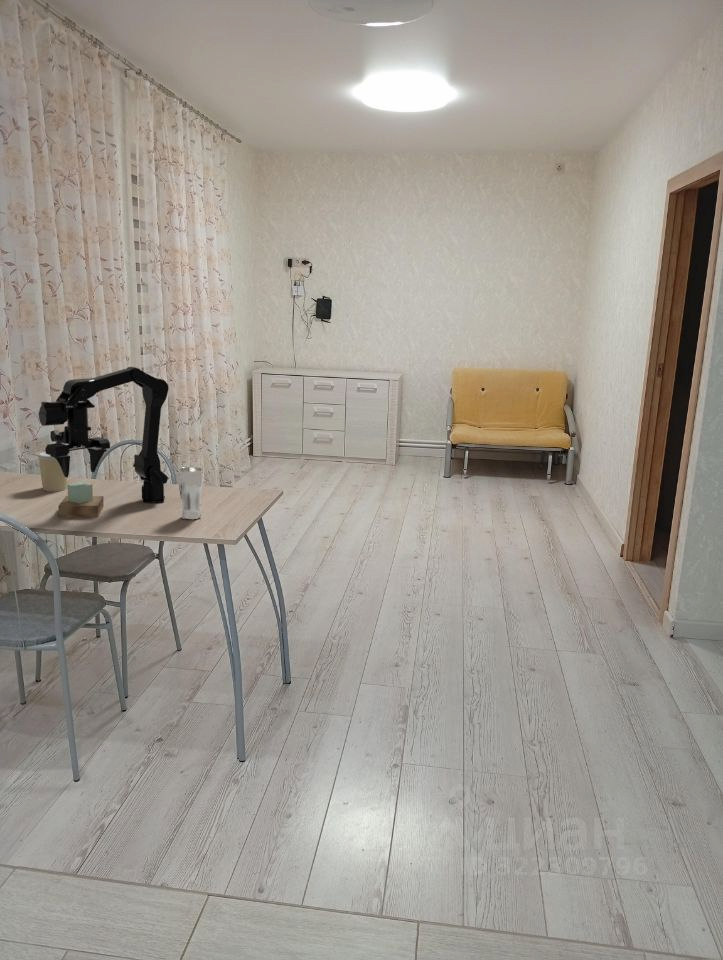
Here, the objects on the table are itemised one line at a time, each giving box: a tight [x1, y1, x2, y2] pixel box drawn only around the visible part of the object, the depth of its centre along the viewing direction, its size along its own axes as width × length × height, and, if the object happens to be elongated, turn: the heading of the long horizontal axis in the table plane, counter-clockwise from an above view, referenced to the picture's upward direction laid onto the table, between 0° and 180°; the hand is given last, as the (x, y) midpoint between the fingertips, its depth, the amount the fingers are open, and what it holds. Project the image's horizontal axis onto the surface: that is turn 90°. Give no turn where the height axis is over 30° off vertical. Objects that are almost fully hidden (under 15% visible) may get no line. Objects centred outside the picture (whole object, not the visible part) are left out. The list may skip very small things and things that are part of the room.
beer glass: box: [178, 466, 204, 520], centre depth 226 cm, size 7×7×15 cm
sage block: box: [67, 481, 94, 504], centre depth 227 cm, size 5×5×5 cm
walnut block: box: [57, 495, 105, 518], centre depth 228 cm, size 11×11×4 cm
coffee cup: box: [37, 451, 70, 492], centre depth 251 cm, size 9×9×12 cm
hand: (79, 474), depth 225 cm, fingers open, 9 cm apart
